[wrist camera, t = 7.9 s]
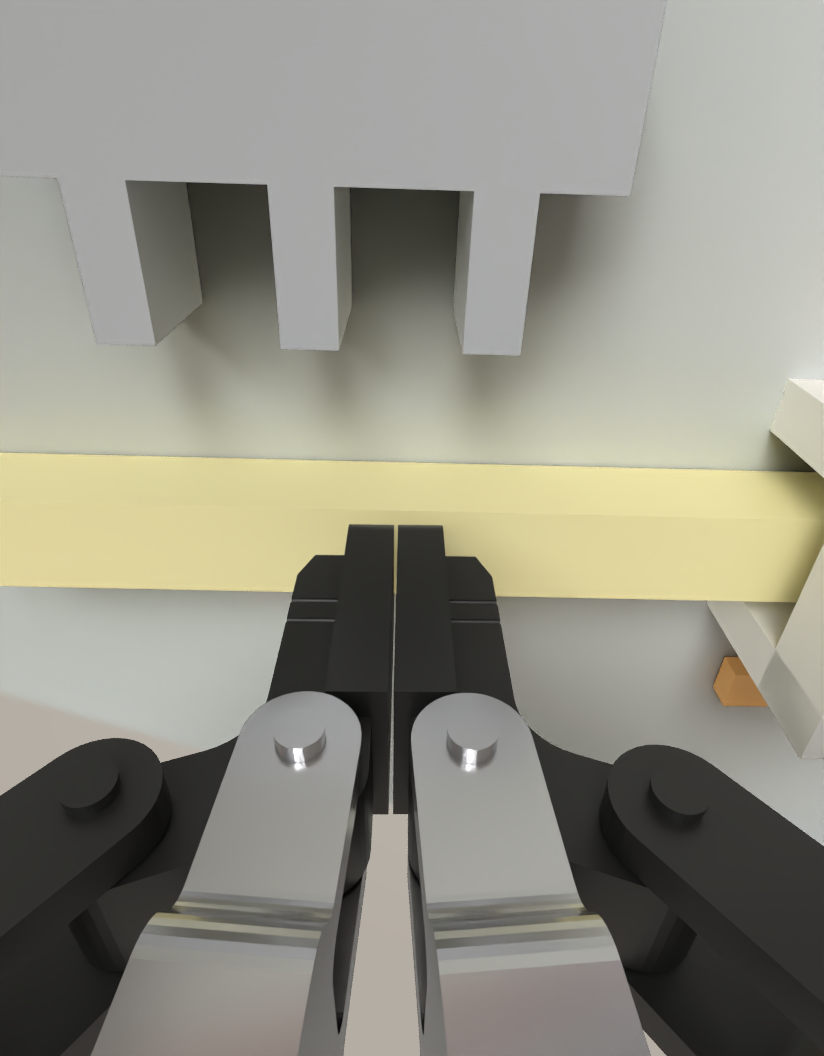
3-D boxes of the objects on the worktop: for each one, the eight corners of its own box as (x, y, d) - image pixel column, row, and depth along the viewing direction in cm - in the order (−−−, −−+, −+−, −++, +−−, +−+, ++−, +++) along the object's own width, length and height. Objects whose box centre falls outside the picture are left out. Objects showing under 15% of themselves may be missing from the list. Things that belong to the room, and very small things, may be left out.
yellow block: (-34, 451, 12) (-97, 499, 11) (1123, 479, 13) (1220, 529, 11) (-4, 530, 13) (-57, 585, 12) (1071, 554, 14) (1153, 609, 12)
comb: (7, -49, 8) (-118, -99, 6) (616, -26, 9) (679, -69, 7) (88, 299, 11) (15, 342, 9) (564, 312, 11) (599, 358, 9)
